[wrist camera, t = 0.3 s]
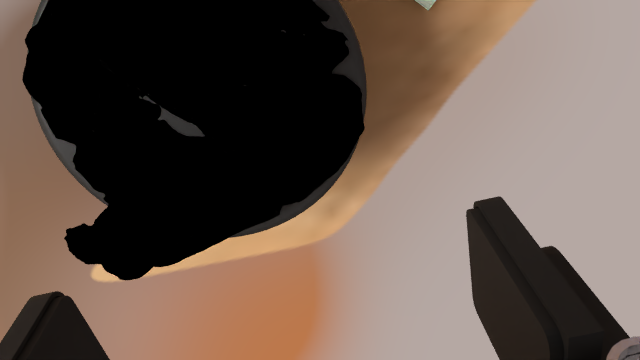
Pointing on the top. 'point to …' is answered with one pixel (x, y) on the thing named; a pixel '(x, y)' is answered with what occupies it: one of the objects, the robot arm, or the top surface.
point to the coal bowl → (194, 117)
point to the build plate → (426, 3)
